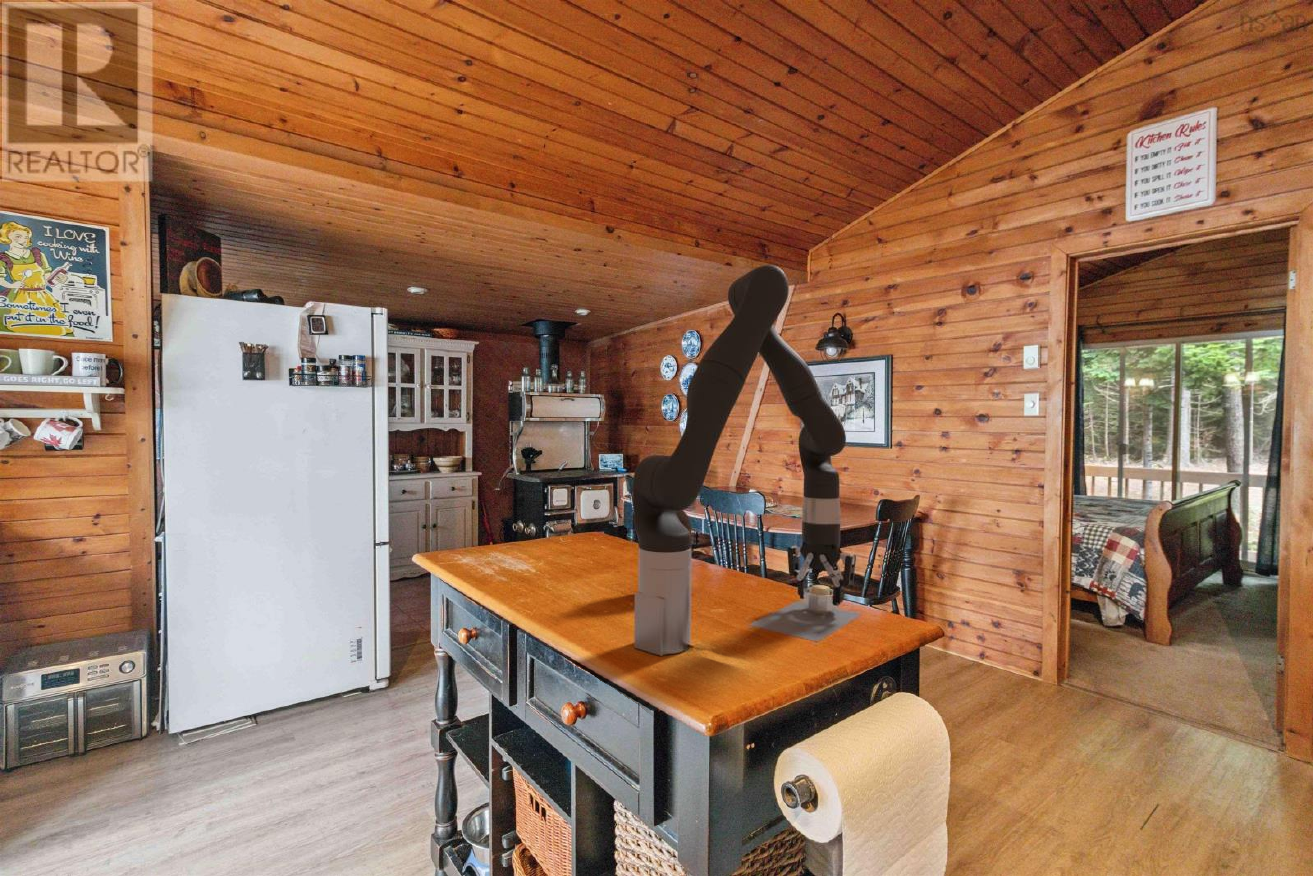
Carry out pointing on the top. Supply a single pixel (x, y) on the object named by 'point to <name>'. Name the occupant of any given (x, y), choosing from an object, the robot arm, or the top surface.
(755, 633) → the top surface
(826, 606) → the steel ring
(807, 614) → the fitting plate
